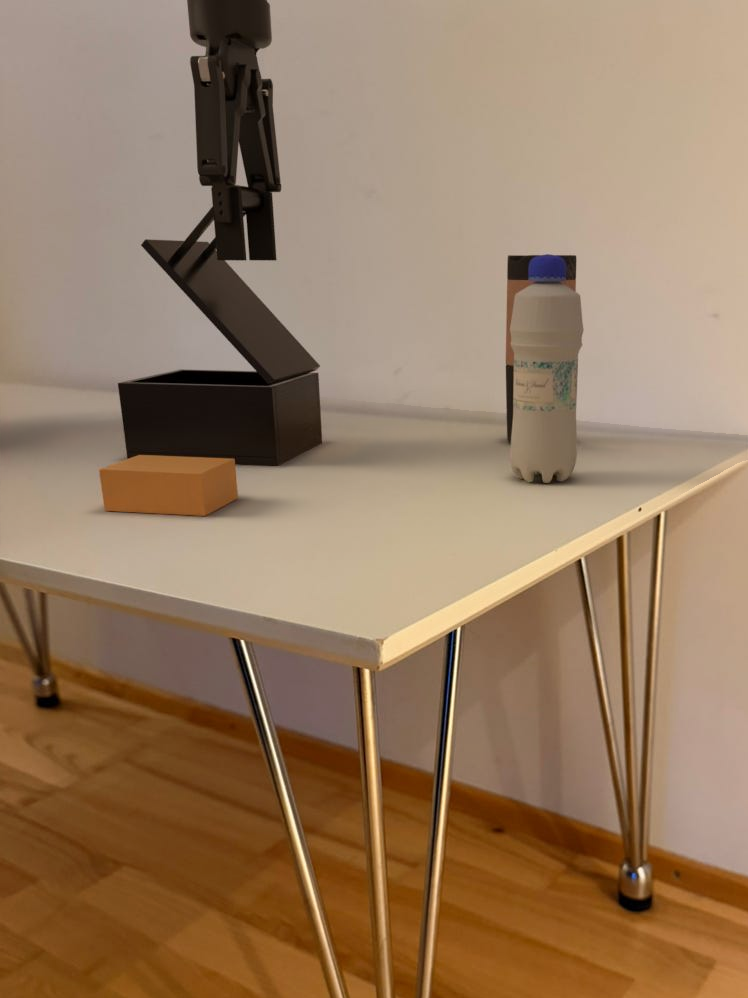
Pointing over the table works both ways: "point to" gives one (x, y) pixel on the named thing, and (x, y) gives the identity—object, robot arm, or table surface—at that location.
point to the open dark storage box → (221, 416)
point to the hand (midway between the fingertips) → (248, 260)
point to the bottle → (545, 372)
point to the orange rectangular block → (169, 485)
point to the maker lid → (232, 299)
